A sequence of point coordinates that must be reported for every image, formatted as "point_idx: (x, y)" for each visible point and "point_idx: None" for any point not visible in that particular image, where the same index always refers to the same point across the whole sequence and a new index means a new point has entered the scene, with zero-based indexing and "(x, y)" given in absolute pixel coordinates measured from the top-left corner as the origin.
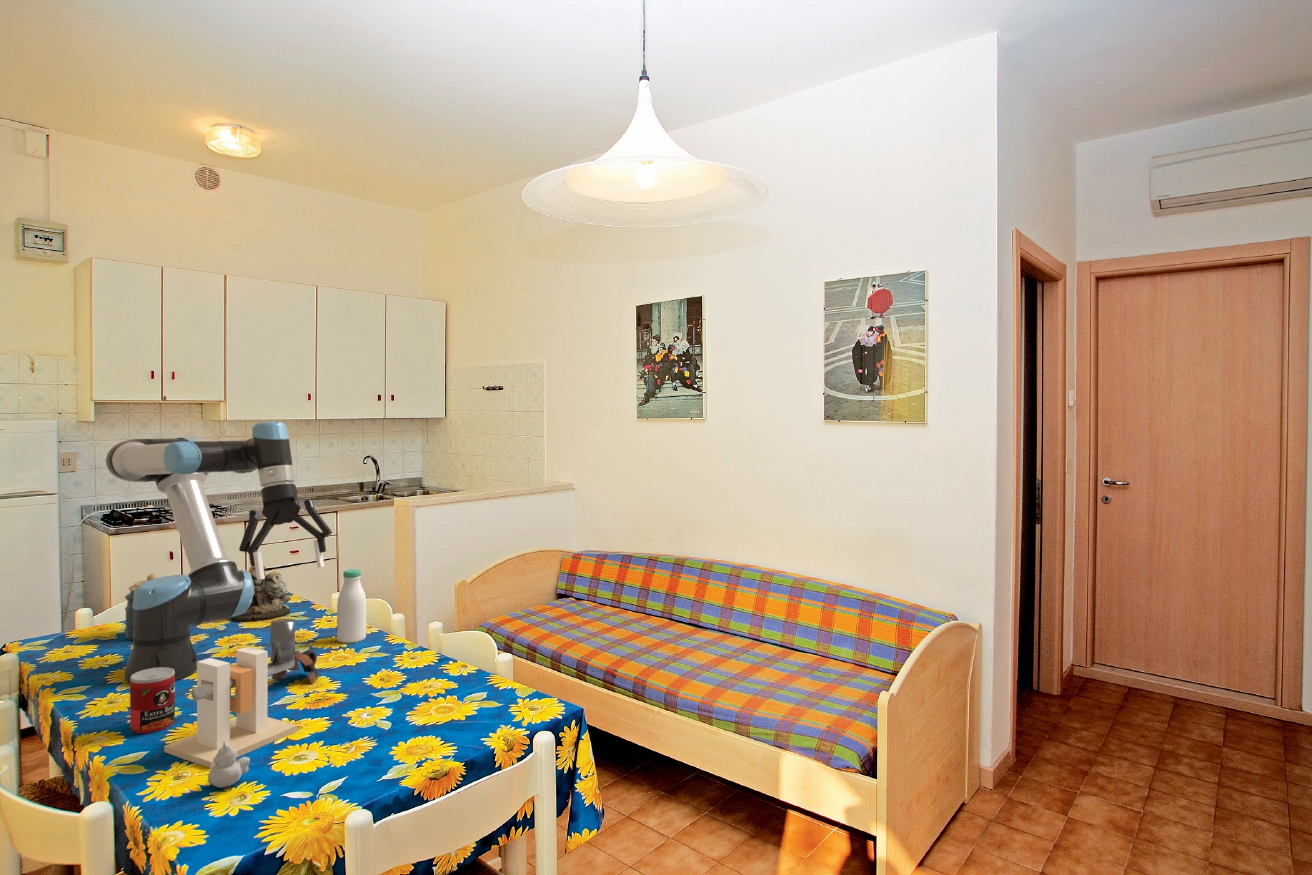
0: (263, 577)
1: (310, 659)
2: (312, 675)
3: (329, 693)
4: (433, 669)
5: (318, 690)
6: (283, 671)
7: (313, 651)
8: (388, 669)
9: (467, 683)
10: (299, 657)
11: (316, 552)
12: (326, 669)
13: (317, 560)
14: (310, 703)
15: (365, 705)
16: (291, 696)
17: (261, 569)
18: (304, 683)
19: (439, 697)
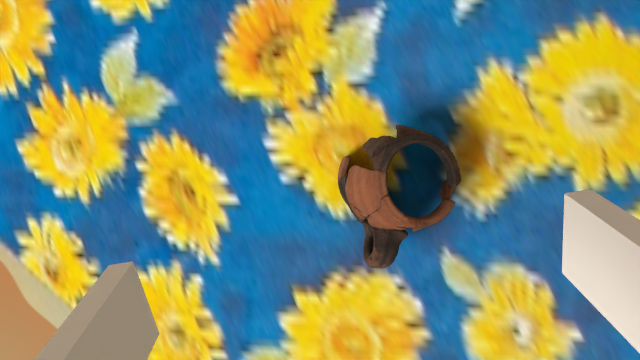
0: (567, 258)
1: (351, 199)
2: (340, 167)
3: (270, 94)
4: (106, 254)
5: (306, 113)
6: (403, 133)
7: (369, 261)
8: (202, 257)
9: (6, 166)
10: (372, 180)
11: (62, 344)
12: (352, 262)
13: (102, 295)
14: (286, 24)
15: (156, 21)
16: (355, 68)
17: (609, 279)
18: (363, 161)
19: (27, 80)
